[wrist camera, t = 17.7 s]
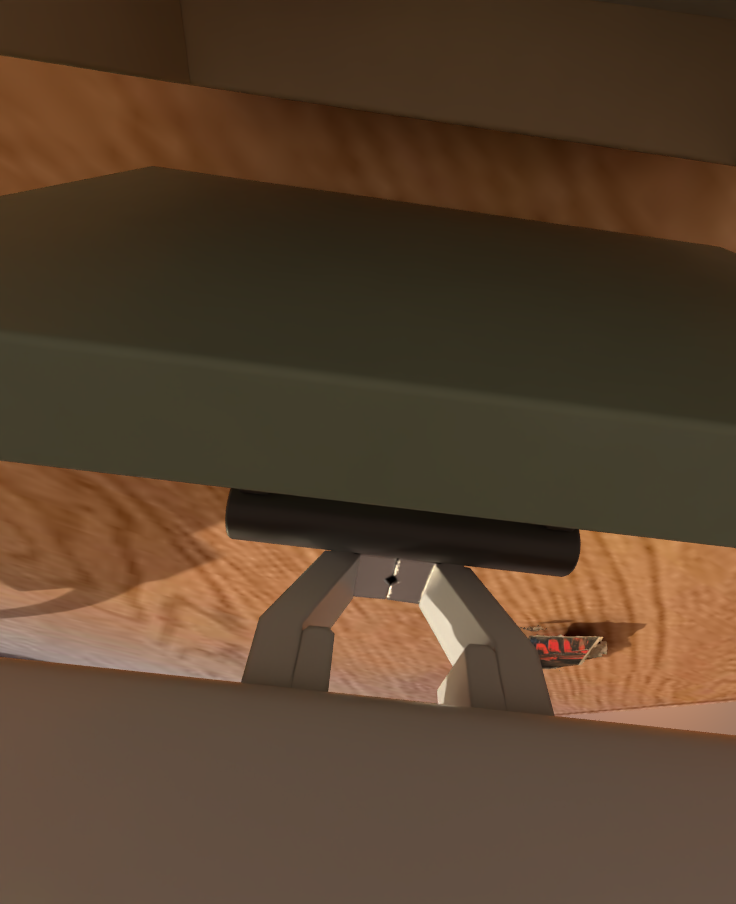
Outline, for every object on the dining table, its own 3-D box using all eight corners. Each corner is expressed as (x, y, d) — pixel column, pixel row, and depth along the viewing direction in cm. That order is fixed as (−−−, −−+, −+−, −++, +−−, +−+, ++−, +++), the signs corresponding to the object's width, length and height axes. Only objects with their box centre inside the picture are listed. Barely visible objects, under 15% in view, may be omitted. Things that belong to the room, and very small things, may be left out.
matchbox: (521, 666, 24) (523, 675, 24) (510, 627, 21) (512, 636, 20) (605, 659, 23) (608, 668, 22) (606, 617, 20) (610, 626, 19)
